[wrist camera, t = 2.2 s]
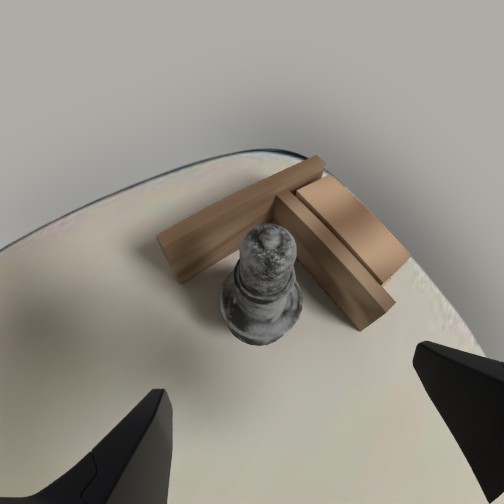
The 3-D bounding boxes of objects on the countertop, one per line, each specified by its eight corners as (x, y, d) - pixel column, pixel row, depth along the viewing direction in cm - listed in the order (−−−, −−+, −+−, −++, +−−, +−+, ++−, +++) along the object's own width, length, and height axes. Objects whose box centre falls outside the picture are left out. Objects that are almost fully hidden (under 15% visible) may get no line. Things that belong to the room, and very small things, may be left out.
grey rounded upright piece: (300, 290, 23) (341, 194, 13) (286, 356, 20) (330, 305, 10) (233, 274, 24) (226, 169, 14) (213, 338, 21) (182, 270, 11)
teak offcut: (400, 267, 21) (411, 255, 19) (372, 294, 20) (383, 283, 18) (325, 189, 25) (330, 174, 23) (293, 206, 24) (296, 190, 22)
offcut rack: (397, 294, 23) (430, 263, 18) (266, 407, 18) (274, 409, 13) (305, 198, 29) (316, 155, 23) (173, 273, 24) (155, 235, 19)
